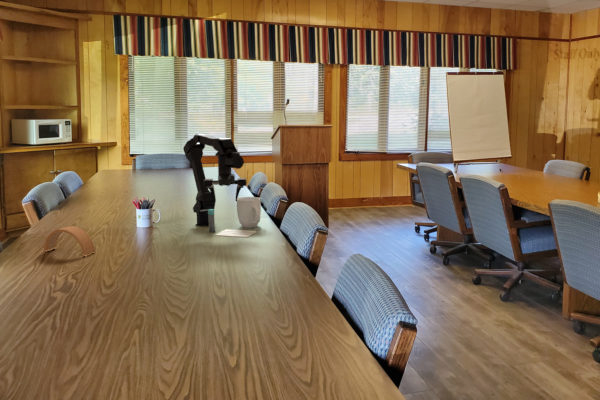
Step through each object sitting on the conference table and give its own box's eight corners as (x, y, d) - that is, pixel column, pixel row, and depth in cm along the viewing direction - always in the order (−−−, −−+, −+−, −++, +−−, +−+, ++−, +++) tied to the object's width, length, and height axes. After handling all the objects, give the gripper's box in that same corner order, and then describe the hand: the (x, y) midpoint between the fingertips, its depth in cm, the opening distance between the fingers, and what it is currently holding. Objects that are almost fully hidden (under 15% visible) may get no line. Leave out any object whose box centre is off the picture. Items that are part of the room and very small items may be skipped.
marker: (207, 232, 242) (206, 210, 240) (210, 230, 244) (209, 209, 243) (213, 232, 241) (212, 210, 239) (216, 231, 244) (215, 209, 242)
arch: (55, 249, 217) (53, 224, 216) (95, 253, 210) (93, 228, 209) (44, 252, 212) (41, 227, 210) (84, 257, 205) (82, 231, 203)
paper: (215, 235, 235) (215, 234, 235) (225, 229, 246) (225, 229, 246) (247, 237, 231) (247, 236, 231) (256, 231, 242) (256, 230, 242)
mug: (269, 228, 248) (269, 200, 245) (248, 231, 242) (247, 202, 239) (254, 222, 260) (253, 195, 258) (233, 225, 254) (232, 198, 252)
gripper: (202, 169, 231) (203, 205, 234) (246, 168, 233) (247, 204, 236) (203, 166, 242) (204, 200, 245) (245, 165, 244) (246, 199, 247)
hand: (225, 201), depth 243 cm, fingers open, 9 cm apart
